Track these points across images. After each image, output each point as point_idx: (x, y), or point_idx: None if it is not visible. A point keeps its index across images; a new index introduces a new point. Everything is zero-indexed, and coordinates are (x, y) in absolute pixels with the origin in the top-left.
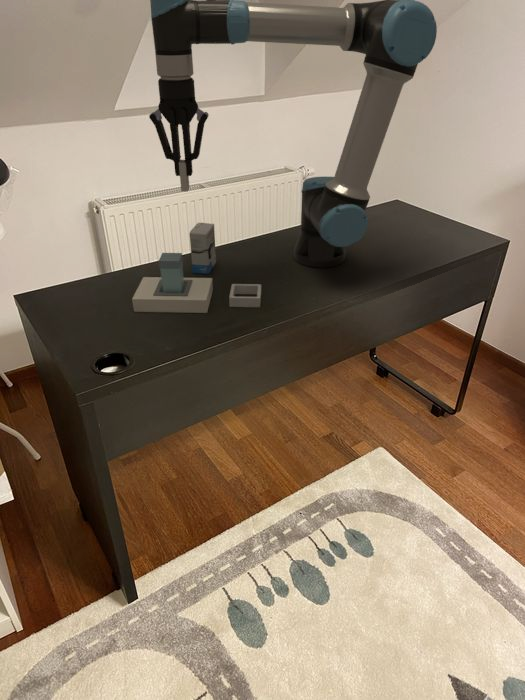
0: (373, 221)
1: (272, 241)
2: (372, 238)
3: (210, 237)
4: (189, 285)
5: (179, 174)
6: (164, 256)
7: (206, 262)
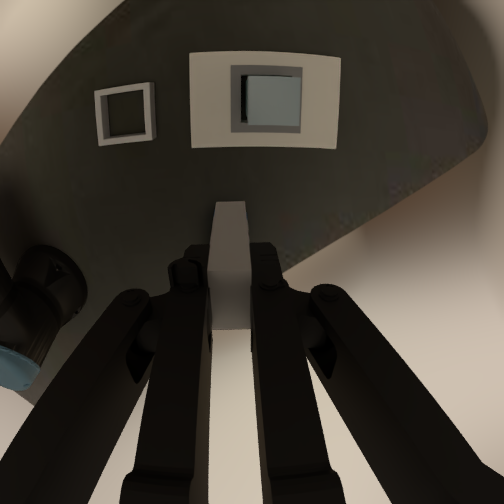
0: None
1: None
2: None
3: None
4: (233, 106)
5: (252, 245)
6: (290, 103)
7: None
